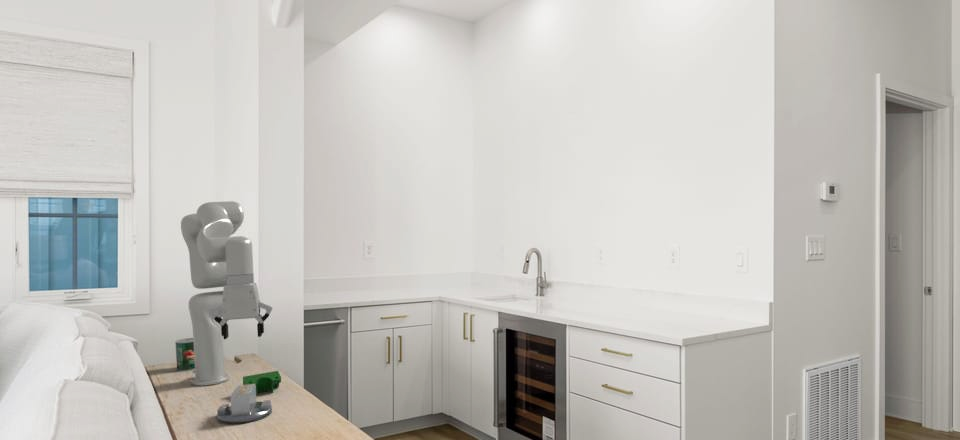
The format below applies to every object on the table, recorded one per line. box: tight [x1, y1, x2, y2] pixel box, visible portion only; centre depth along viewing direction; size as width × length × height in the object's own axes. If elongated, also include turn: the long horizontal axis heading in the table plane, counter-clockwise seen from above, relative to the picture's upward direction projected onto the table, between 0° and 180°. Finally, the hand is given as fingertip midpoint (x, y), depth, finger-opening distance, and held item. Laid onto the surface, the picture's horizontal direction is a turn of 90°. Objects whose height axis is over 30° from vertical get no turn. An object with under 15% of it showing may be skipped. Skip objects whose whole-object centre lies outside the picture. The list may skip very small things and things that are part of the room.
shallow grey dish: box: [216, 399, 273, 425], centre depth 181 cm, size 15×15×3 cm
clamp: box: [242, 370, 282, 397], centre depth 202 cm, size 12×6×9 cm, turn 115°
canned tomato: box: [175, 337, 195, 372], centre depth 238 cm, size 8×8×11 cm
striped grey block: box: [230, 384, 258, 416], centre depth 181 cm, size 5×10×6 cm, turn 10°
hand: (243, 337), depth 182 cm, fingers open, 9 cm apart
